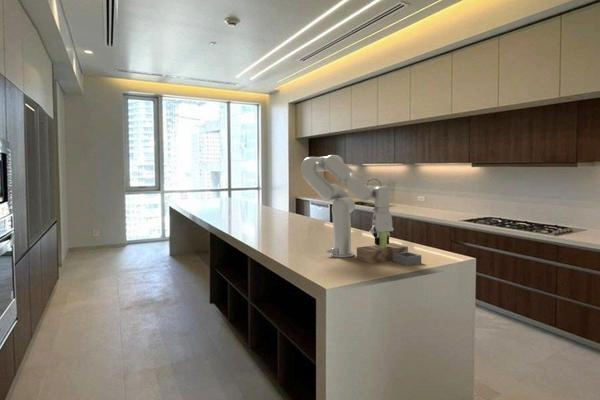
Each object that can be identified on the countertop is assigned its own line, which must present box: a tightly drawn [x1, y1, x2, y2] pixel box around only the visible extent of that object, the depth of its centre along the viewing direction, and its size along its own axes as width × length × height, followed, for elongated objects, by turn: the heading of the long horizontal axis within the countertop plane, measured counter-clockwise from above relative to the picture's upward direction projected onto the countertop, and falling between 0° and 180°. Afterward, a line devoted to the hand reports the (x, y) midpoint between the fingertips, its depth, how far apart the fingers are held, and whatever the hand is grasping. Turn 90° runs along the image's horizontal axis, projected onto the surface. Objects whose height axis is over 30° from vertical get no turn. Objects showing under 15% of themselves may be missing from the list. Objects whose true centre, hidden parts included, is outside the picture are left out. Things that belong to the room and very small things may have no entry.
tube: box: [377, 232, 388, 249], centre depth 198 cm, size 6×5×20 cm
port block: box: [356, 242, 409, 264], centre depth 198 cm, size 24×12×6 cm, turn 116°
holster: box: [392, 251, 422, 267], centre depth 188 cm, size 9×10×4 cm
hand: (382, 243), depth 198 cm, fingers closed on tube, 5 cm apart
